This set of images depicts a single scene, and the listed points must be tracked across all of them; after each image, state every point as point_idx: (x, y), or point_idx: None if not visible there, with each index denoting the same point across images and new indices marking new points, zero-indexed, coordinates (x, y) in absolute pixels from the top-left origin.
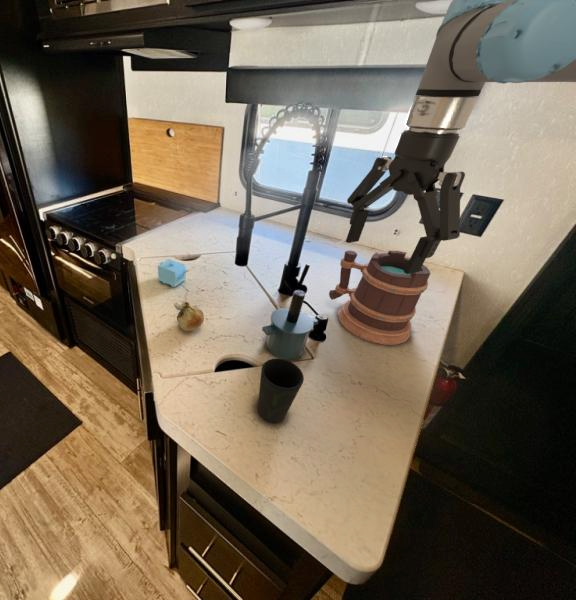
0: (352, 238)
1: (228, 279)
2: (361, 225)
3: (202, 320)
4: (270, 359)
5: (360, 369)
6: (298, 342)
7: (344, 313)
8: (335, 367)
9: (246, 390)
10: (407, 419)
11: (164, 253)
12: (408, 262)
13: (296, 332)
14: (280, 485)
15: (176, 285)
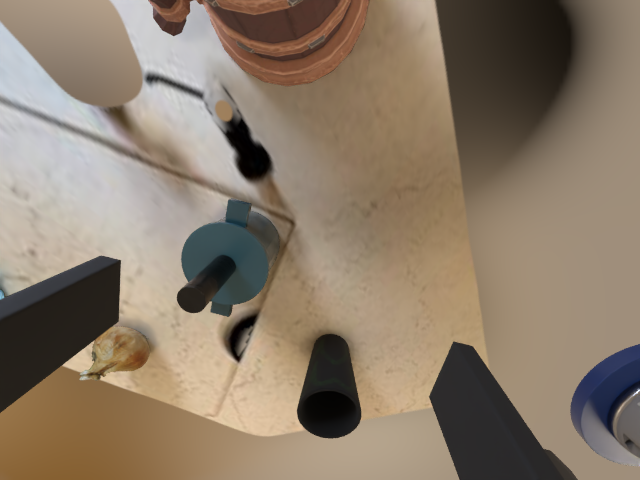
0: (102, 318)
1: (2, 172)
2: (26, 334)
3: (138, 346)
4: (298, 408)
5: (357, 173)
6: (269, 269)
7: (238, 57)
8: (329, 208)
9: (287, 350)
10: (455, 209)
11: None
12: (446, 442)
13: (258, 288)
14: (398, 399)
15: (2, 294)
